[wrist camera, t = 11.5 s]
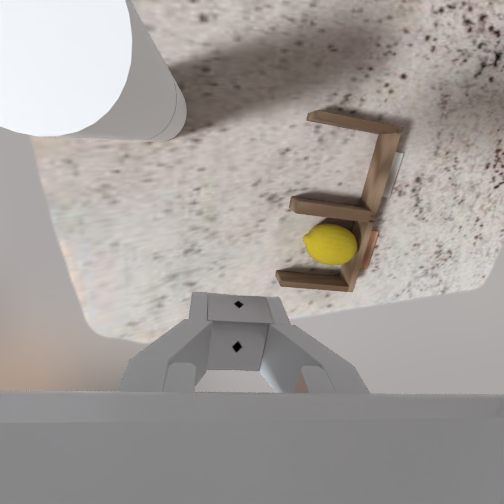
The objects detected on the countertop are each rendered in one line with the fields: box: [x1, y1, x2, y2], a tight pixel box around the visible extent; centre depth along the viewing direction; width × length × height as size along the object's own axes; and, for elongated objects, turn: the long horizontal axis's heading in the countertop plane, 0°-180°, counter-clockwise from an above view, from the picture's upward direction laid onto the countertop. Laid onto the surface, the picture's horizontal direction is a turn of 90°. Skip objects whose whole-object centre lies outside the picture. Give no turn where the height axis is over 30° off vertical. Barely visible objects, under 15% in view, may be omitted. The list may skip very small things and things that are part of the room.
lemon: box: [303, 223, 357, 265], centre depth 39 cm, size 6×6×8 cm
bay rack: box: [275, 110, 404, 292], centre depth 38 cm, size 22×14×4 cm, turn 171°
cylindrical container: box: [0, 0, 187, 142], centre depth 21 cm, size 7×7×25 cm
